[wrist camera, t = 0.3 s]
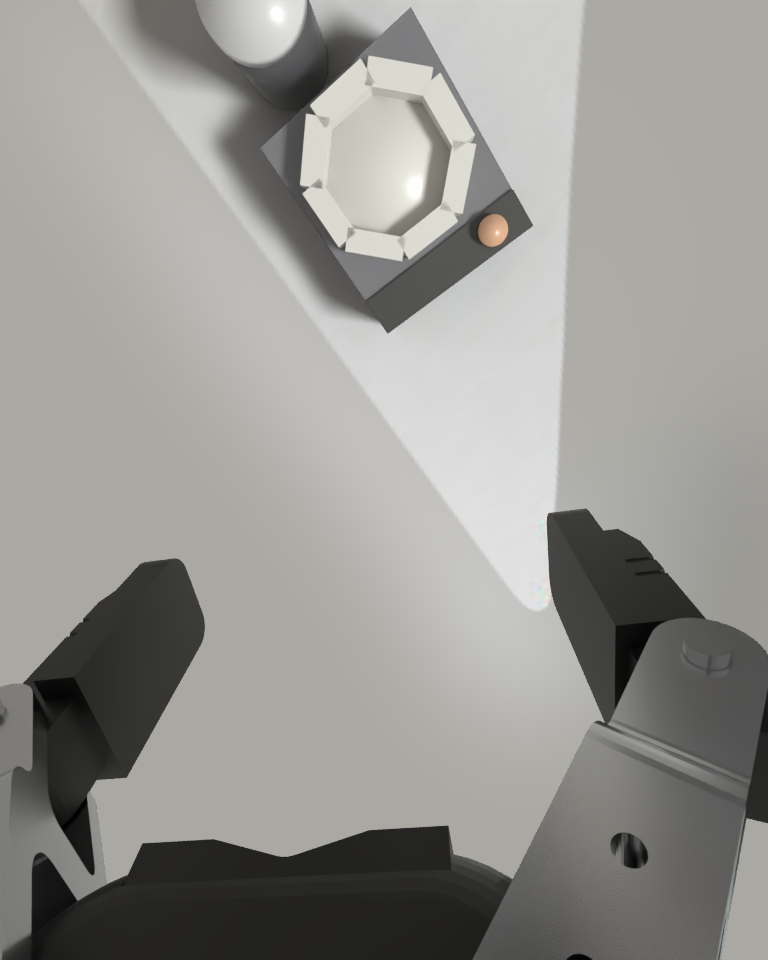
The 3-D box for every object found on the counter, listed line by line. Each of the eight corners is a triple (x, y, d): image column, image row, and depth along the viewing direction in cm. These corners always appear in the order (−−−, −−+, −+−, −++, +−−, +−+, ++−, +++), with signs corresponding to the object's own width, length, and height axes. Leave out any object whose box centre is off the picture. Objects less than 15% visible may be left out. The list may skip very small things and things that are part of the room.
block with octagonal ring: (282, 166, 32) (252, 141, 26) (410, 49, 29) (410, -9, 23) (390, 326, 35) (386, 335, 29) (515, 233, 33) (538, 223, 27)
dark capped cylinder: (238, 15, 29) (180, -74, 22) (323, 2, 29) (292, -94, 21) (255, 117, 31) (207, 67, 24) (335, 106, 31) (310, 51, 23)
